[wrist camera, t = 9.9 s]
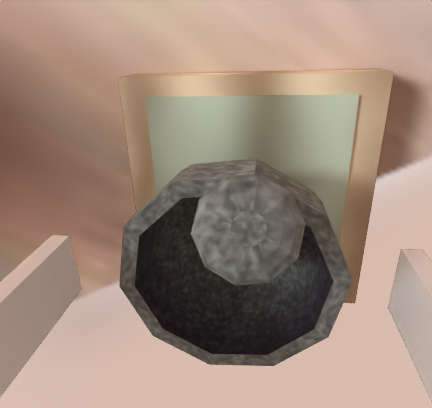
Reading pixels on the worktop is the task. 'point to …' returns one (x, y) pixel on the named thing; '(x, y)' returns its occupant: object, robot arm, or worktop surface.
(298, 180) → the beige flat pad
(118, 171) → the worktop surface
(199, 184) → the mortar and pestle
